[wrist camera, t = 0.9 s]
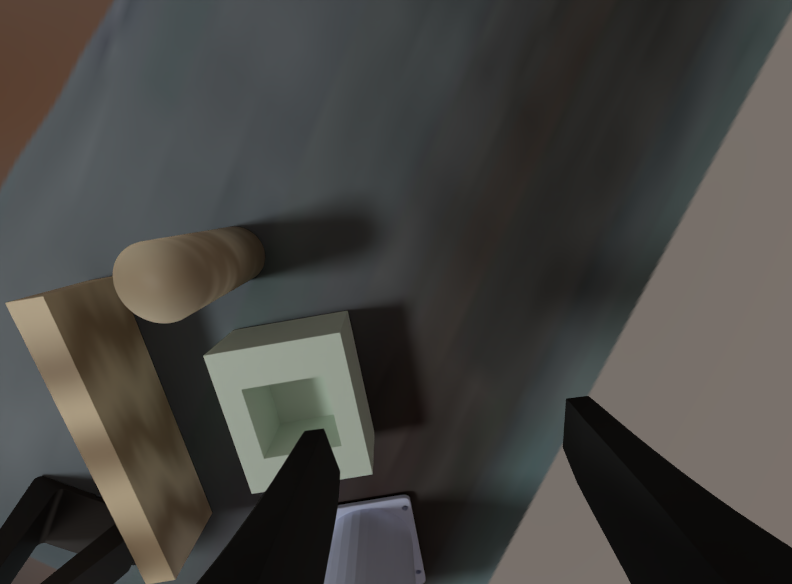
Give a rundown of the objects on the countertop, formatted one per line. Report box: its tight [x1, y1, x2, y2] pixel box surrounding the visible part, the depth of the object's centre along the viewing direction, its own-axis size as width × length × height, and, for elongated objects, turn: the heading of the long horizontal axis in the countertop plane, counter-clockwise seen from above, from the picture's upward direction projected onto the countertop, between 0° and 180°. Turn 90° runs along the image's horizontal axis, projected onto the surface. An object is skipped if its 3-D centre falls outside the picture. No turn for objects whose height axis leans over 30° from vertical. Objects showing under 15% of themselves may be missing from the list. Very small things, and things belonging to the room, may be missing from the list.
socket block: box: [203, 311, 374, 494], centre depth 23 cm, size 10×8×4 cm
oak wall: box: [5, 276, 212, 584], centre depth 22 cm, size 20×2×5 cm, turn 10°
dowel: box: [113, 226, 265, 323], centre depth 18 cm, size 4×4×8 cm
